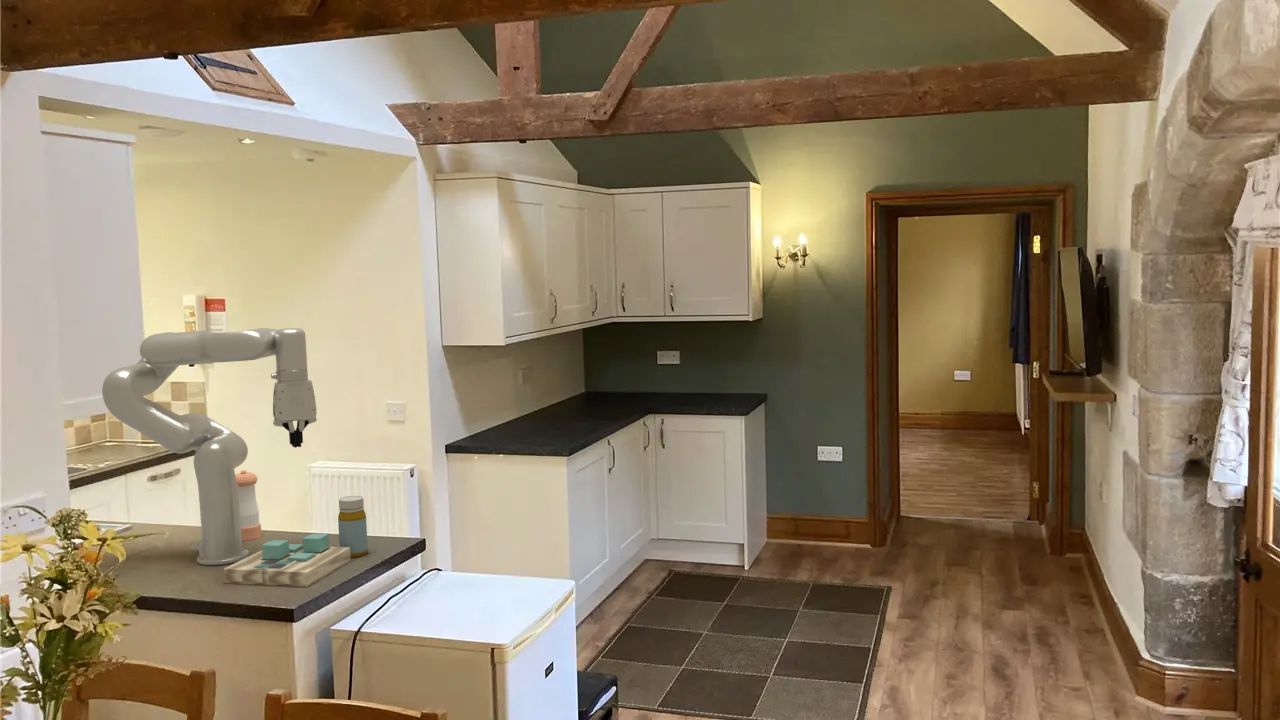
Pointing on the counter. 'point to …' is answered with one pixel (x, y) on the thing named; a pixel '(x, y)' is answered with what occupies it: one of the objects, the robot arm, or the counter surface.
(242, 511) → the salt shaker
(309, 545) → the button
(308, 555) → the button
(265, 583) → the button board
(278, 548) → the button
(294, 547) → the button
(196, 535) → the counter surface
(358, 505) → the bottle
